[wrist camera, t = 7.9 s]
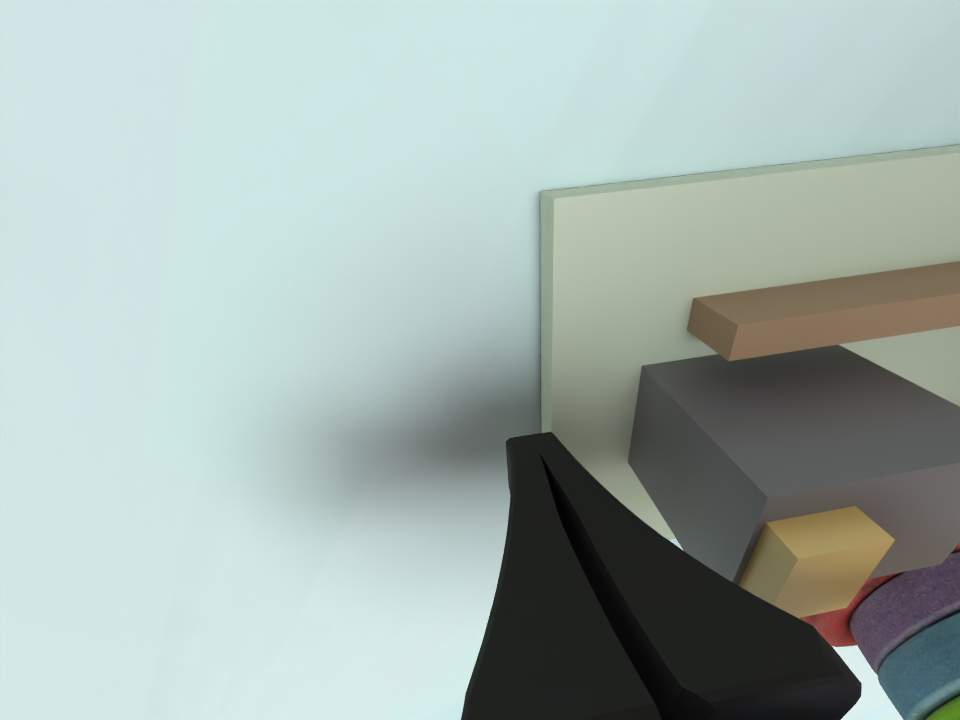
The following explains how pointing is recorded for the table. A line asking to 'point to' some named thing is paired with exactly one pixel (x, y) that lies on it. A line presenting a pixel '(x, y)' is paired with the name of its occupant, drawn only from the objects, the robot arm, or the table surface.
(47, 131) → the table surface
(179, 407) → the table surface
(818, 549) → the plug block
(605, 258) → the board
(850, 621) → the stacking bear
